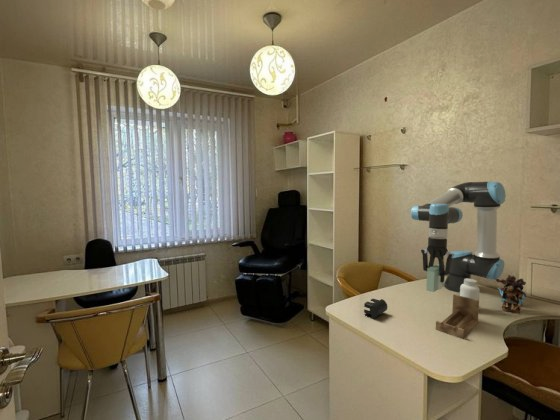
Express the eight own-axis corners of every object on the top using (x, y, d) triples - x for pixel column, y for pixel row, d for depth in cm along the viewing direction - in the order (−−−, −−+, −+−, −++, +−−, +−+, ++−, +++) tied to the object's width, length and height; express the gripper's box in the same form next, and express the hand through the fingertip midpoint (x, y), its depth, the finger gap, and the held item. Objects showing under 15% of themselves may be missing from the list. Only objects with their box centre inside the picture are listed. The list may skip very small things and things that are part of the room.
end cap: (377, 321, 126) (378, 306, 125) (363, 316, 131) (363, 302, 130) (387, 314, 133) (387, 300, 132) (373, 309, 138) (374, 296, 137)
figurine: (499, 312, 135) (504, 276, 134) (492, 305, 144) (496, 271, 143) (526, 316, 132) (531, 279, 131) (517, 309, 141) (521, 274, 139)
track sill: (435, 329, 118) (436, 306, 118) (453, 314, 133) (454, 294, 132) (462, 338, 111) (463, 314, 110) (477, 322, 125) (479, 300, 125)
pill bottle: (481, 313, 134) (483, 283, 133) (463, 311, 136) (464, 281, 135) (473, 306, 142) (475, 278, 141) (456, 305, 144) (457, 276, 143)
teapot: (493, 300, 150) (494, 287, 150) (498, 298, 154) (498, 285, 153) (522, 308, 141) (523, 294, 140) (526, 305, 144) (527, 291, 144)
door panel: (426, 290, 125) (427, 268, 125) (437, 284, 133) (437, 264, 132) (433, 292, 123) (434, 270, 122) (444, 286, 131) (445, 265, 130)
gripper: (416, 236, 130) (414, 284, 132) (454, 240, 118) (451, 294, 119) (422, 234, 135) (420, 281, 137) (460, 239, 123) (457, 290, 124)
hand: (435, 287), depth 128 cm, fingers closed on door panel, 3 cm apart
